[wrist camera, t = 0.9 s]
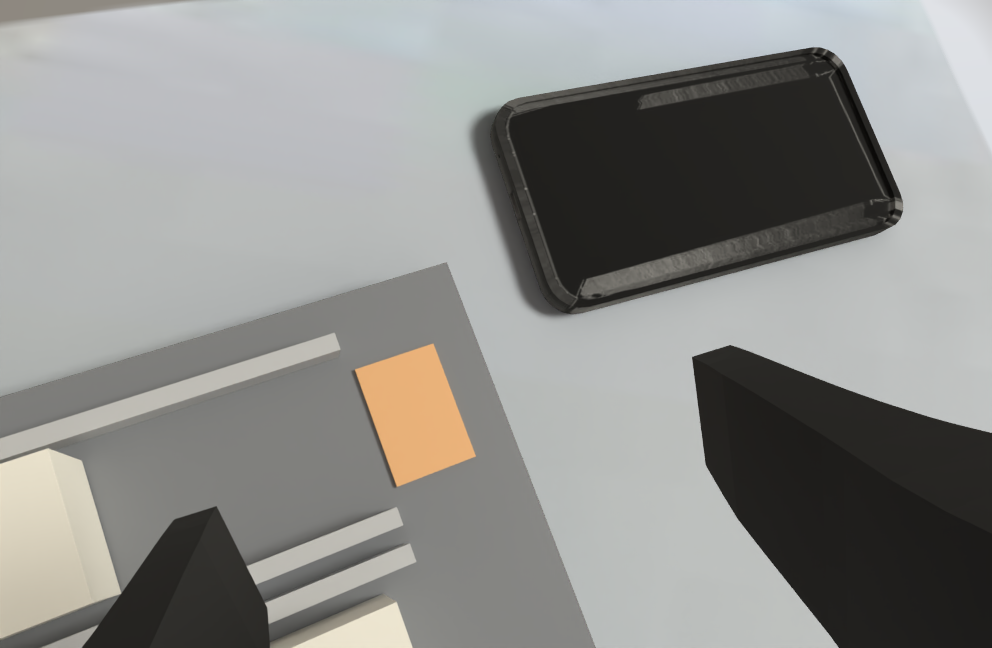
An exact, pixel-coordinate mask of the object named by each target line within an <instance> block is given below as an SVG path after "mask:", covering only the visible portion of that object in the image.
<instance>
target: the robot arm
mask: <svg viewBox="0 0 992 648" xmlns="http://www.w3.org/2000/svg"><path fill="white" fill-rule="evenodd" d="M692 360H693V368H694V376H695V384H696V391H697V399H698V407H699V415H700V423H701V431H702V439H703V447H704V454H705V462H706V466H707V468H708V470H709V471H710V473H711V475H712V477H713V478H714V480H715V482H716V483H717V485H718V487H719V489H720V490H721V492H722V494H723V496H724V497H725V499H726V500H727V502H728V504H729V505H730V507H731V509H732V510H733V512H734V513H735V515H736V517H737V518H738V520H739V521H740V522H741V524H742V525H743V526H744V528H745V529H746V530H747V531H748V533H749V534H750V535H751V537H752V538H753V539H754V540H755V542H756V543H757V544H758V545H759V547H760V548H761V549H762V551H763V552H764V553H765V554H766V556H767V557H768V558H769V559H770V561H771V562H772V563H773V564H774V566H775V567H776V568H777V569H778V571H779V572H780V573H781V574H782V576H783V577H784V578H785V579H786V581H787V582H788V583H789V585H790V586H791V587H792V588H793V590H794V591H795V592H796V593H797V595H798V596H799V597H800V598H801V600H802V601H803V602H804V603H805V605H806V606H807V607H808V608H809V610H810V611H811V612H812V613H813V615H814V616H815V617H816V618H817V620H818V621H819V622H820V623H821V625H822V626H823V627H824V628H825V630H826V631H827V632H828V633H829V635H830V636H831V637H832V639H833V640H834V642H835V643H836V644H837V646H838V647H839V648H992V433H989V432H985V431H981V430H977V429H973V428H969V427H965V426H960V425H956V424H952V423H949V422H945V421H942V420H938V419H934V418H931V417H927V416H924V415H921V414H918V413H915V412H912V411H908V410H905V409H902V408H899V407H896V406H893V405H889V404H886V403H883V402H880V401H877V400H874V399H872V398H869V397H866V396H863V395H860V394H857V393H855V392H852V391H849V390H846V389H844V388H841V387H838V386H836V385H833V384H830V383H828V382H825V381H822V380H820V379H817V378H815V377H812V376H810V375H807V374H804V373H802V372H799V371H797V370H794V369H792V368H789V367H787V366H784V365H782V364H779V363H777V362H774V361H772V360H769V359H767V358H764V357H762V356H759V355H757V354H754V353H751V352H749V351H746V350H743V349H740V348H737V347H734V346H731V345H729V346H726V347H723V348H719V349H716V350H713V351H710V352H707V353H703V354H700V355H697V356H694V357H692ZM82 648H270V639H269V624H268V609H267V606H266V604H265V602H264V600H263V598H262V596H261V594H260V592H259V590H258V588H257V586H256V584H255V582H254V580H253V578H252V576H251V574H250V572H249V570H248V568H247V566H246V564H245V562H244V560H243V558H242V556H241V554H240V552H239V550H238V548H237V546H236V544H235V542H234V540H233V538H232V536H231V534H230V532H229V530H228V528H227V526H226V524H225V522H224V520H223V518H222V516H221V514H220V512H219V510H218V508H217V506H215V507H212V508H209V509H206V510H202V511H199V512H196V513H193V514H190V515H186V516H183V517H180V518H177V519H174V520H173V522H172V523H171V524H170V525H169V527H168V528H167V529H166V531H165V532H164V533H163V535H162V536H161V537H160V539H159V540H158V542H157V543H156V544H155V546H154V547H153V549H152V550H151V552H150V553H149V554H148V556H147V557H146V559H145V560H144V562H143V563H142V564H141V566H140V567H139V569H138V570H137V572H136V573H135V575H134V576H133V577H132V579H131V580H130V582H129V583H128V585H127V586H126V587H125V589H124V590H123V592H122V593H121V594H120V596H119V597H118V599H117V600H116V601H115V603H114V604H113V606H112V607H111V608H110V610H109V611H108V613H107V614H106V615H105V617H104V618H103V620H102V621H101V622H100V624H99V625H98V627H97V628H96V629H95V631H94V632H93V634H92V635H91V636H90V638H89V639H88V640H87V641H86V643H85V644H84V645H83V647H82Z"/></svg>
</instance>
